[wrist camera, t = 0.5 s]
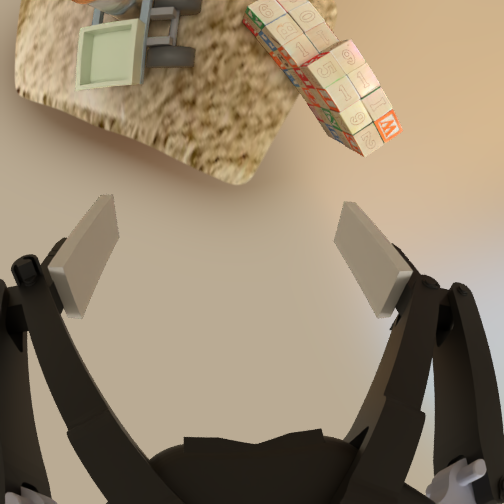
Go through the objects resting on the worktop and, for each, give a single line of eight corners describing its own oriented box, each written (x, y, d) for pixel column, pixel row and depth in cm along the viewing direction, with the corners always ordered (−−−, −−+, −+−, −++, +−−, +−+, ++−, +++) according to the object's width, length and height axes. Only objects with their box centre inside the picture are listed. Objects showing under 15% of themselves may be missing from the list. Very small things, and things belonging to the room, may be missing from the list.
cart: (117, -6, 23) (63, -43, 9) (205, -13, 25) (198, -67, 11) (107, 87, 31) (42, 97, 17) (194, 83, 33) (175, 82, 19)
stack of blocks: (240, 22, 29) (248, -3, 19) (276, 0, 27) (299, -28, 17) (328, 136, 39) (365, 159, 29) (360, 115, 38) (405, 132, 28)
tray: (91, 31, 21) (79, 28, 19) (145, 23, 22) (138, 18, 20) (87, 89, 25) (75, 91, 23) (139, 84, 26) (131, 84, 24)
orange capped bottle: (123, 2, 24) (72, -32, 11) (155, -1, 25) (117, -44, 11) (119, 30, 27) (62, 7, 13) (151, 27, 28) (108, -4, 14)
